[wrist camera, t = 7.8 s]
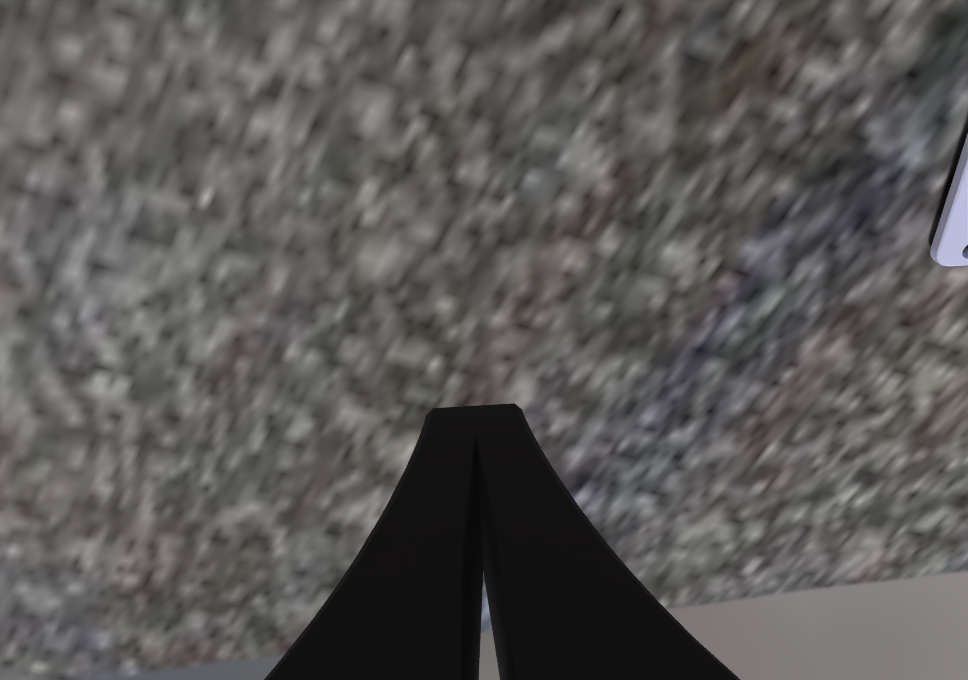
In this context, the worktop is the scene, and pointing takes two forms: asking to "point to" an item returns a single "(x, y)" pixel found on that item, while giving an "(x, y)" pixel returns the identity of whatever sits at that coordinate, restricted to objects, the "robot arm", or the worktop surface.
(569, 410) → the worktop surface
